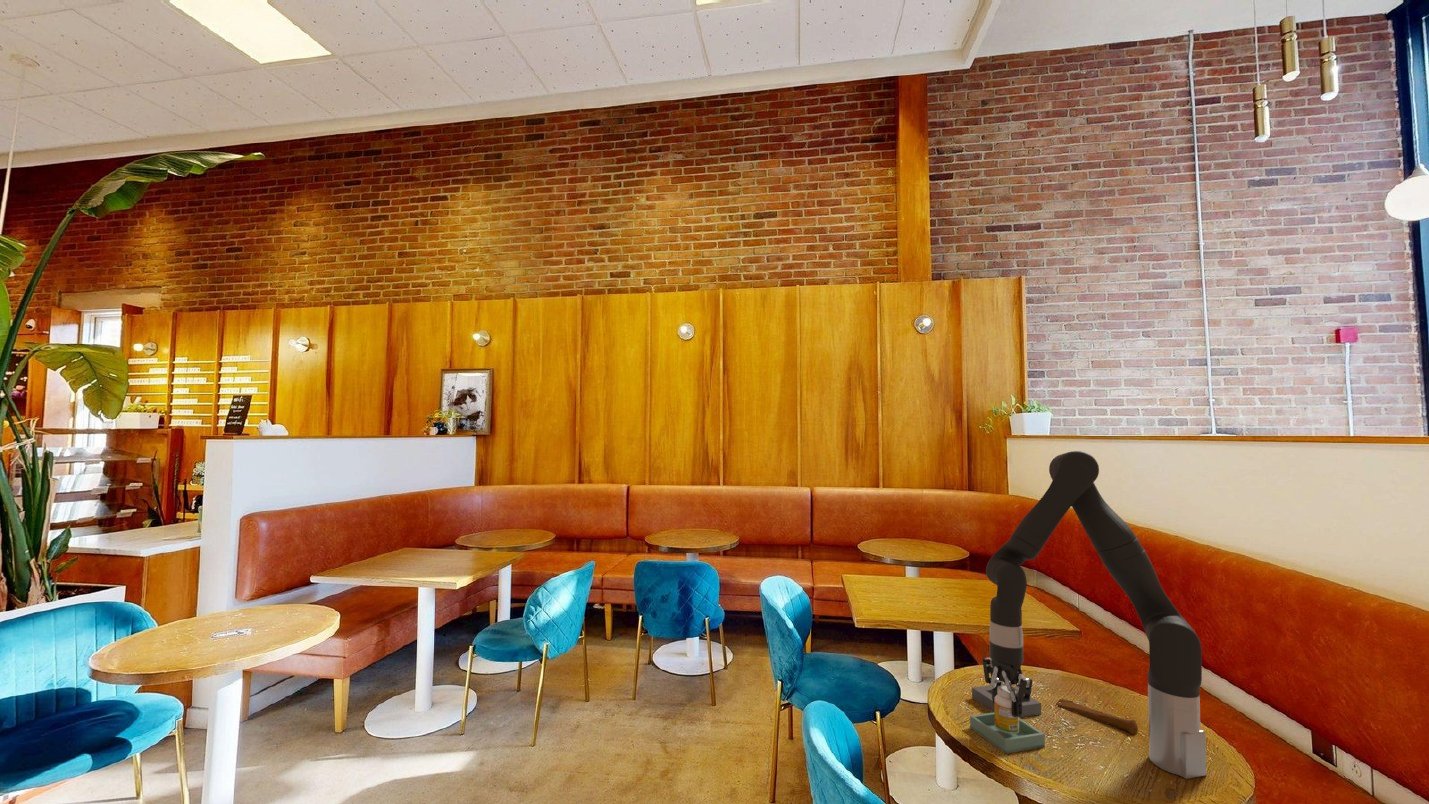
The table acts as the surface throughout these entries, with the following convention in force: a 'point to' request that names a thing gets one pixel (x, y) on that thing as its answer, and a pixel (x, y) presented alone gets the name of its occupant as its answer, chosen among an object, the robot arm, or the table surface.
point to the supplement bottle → (1005, 712)
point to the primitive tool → (1100, 716)
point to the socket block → (985, 699)
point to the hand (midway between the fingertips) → (1006, 709)
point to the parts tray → (1007, 742)
